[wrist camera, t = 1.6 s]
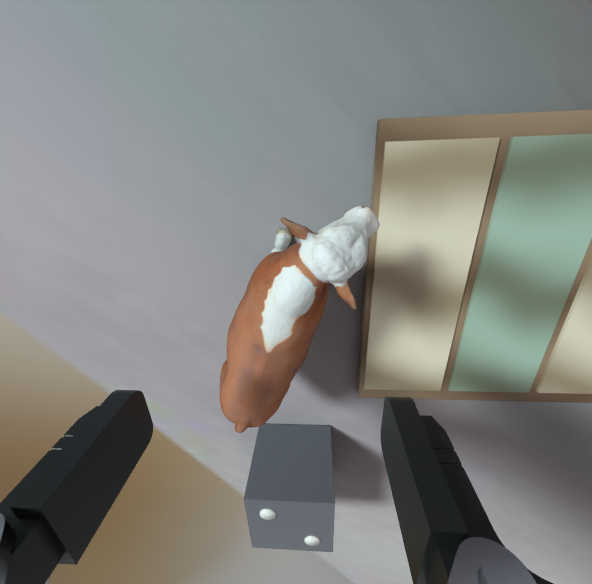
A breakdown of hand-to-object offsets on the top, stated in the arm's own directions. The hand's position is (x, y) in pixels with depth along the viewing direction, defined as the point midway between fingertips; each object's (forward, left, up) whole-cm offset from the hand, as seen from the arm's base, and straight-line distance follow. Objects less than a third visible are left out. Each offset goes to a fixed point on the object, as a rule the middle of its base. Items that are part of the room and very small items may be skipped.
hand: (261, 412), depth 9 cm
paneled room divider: (0, +14, -10) cm, 17 cm away
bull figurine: (0, 0, -11) cm, 11 cm away
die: (+16, 0, -10) cm, 19 cm away
